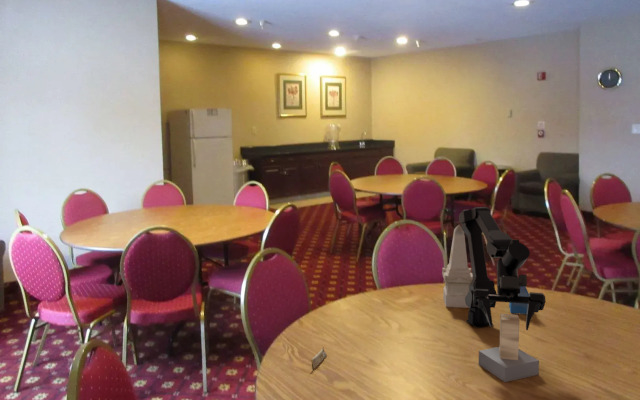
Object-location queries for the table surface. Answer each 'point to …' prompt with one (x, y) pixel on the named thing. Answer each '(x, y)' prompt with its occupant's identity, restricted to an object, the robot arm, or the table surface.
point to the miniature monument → (457, 272)
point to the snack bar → (318, 358)
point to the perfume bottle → (520, 307)
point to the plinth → (508, 365)
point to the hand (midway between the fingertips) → (509, 328)
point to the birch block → (509, 336)
